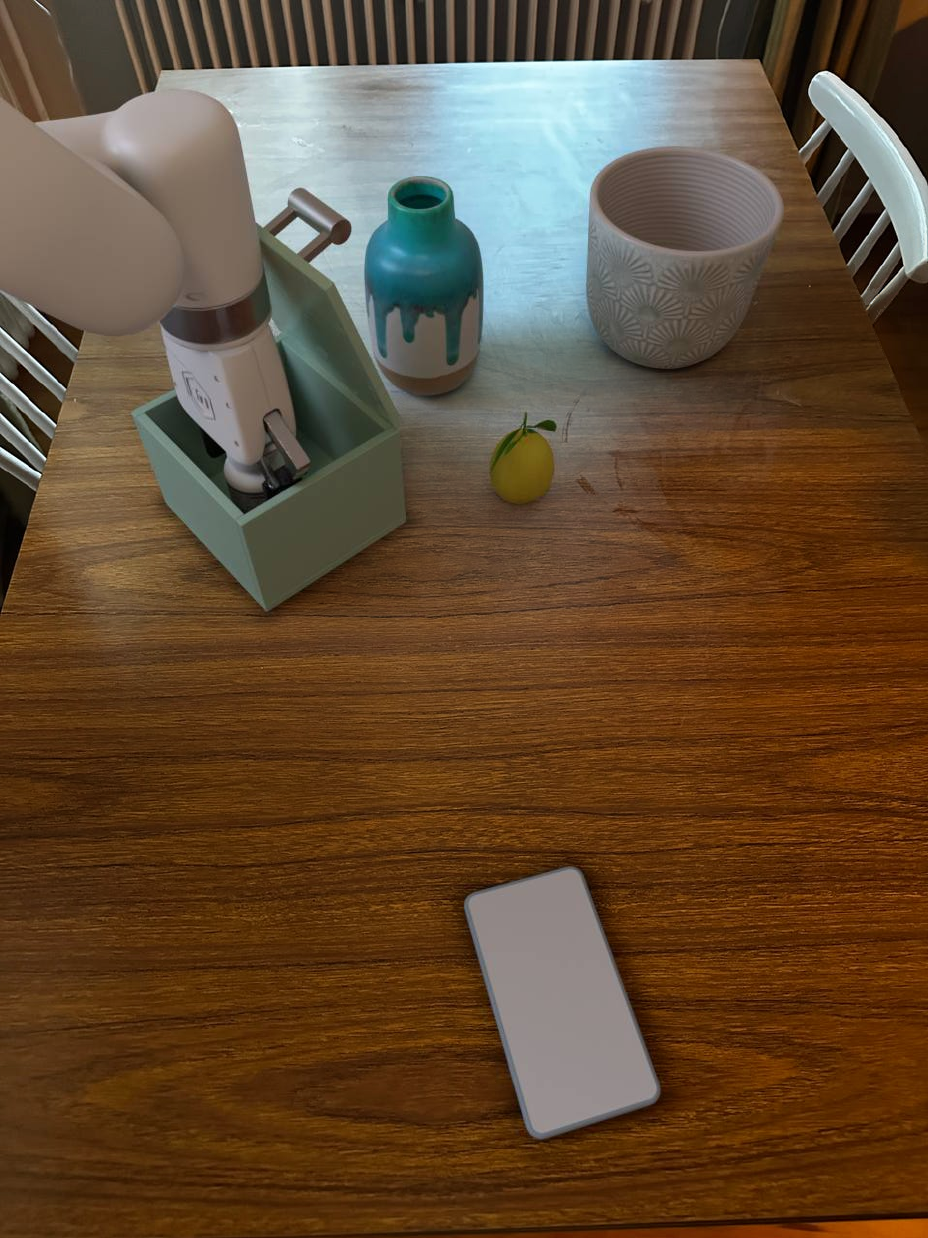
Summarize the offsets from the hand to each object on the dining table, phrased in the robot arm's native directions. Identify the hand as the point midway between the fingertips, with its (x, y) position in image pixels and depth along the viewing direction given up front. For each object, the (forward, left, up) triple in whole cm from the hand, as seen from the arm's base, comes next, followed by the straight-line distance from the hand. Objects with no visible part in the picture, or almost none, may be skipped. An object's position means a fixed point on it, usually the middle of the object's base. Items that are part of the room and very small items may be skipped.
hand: (256, 478), depth 78 cm
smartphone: (-13, -43, -6) cm, 45 cm away
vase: (+23, +3, -6) cm, 24 cm away
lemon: (+17, -14, -6) cm, 23 cm away
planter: (+43, -10, -6) cm, 44 cm away
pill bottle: (0, 0, -5) cm, 5 cm away
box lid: (+6, -1, +13) cm, 14 cm away
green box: (+2, 0, -6) cm, 6 cm away
